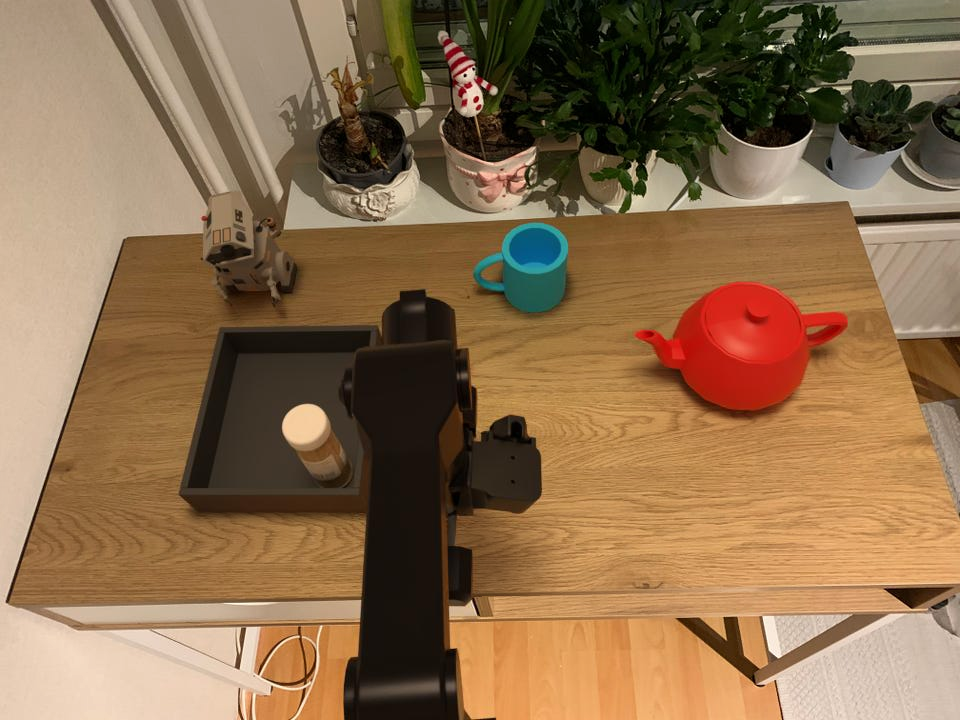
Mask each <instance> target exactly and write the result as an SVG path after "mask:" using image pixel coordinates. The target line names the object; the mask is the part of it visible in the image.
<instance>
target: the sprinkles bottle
mask: <svg viewBox="0 0 960 720" xmlns="http://www.w3.org/2000/svg"><path fill="white" fill-rule="evenodd" d="M282 431H283V435H284V436H285V438H286V440H287V441H288V443H289V444H290V445H291V446H292V447H293V448H294V449H295V450H296V452H297V454H298V456H299V457H300V459H301V460H302V462H303V463H304V465H305V466H306V468H307V469H308V471H309V472H310V474H311V475H312V476H313V477H314V479H315V481H316V483H317V485H318V486H319V487H320V488H344V487H345V486H346V485H347V484H348V483H349V482H350V481H351V479H352V476H353V466H352V464H351V462H350V460H349V459H348V458H347V457H346V454H345V452H344V450H343V448H342V446H341V444H340V443H339V441H338V439H337V437H336V436H335V434H334V433H333V431H332V429H331V425H330V421H329V419H328V417H327V416H326V414H325V412H324V411H323V410H322V409H321V408H320V407H318V406H316V405H313V404H303V405H299V406H297V407H295V408H293V409H292V410H290V411H289V412H288V413H287V415H286V416H285V418H284V420H283V423H282Z"/></svg>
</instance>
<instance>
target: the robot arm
mask: <svg viewBox="0 0 960 720" xmlns="http://www.w3.org/2000/svg"><path fill="white" fill-rule="evenodd" d="M381 337H382V345H379V346H368V347H363V348H358V349H357V350H356V351H355V354H354V358H353V362H352V363H350V364H349V365H347V366H346V368H345V372H344V376H343V378H342V380H341V382H340V384H339V387H338V396H339V401H340V403H341V404H342V405H343V406H344V407H345V408H346V410H347V414H348V417H349V419H350V420H351V421H355V425H356V428H357V431H358V435H359V438H360V441H361V445H362V448H363V451H364V455H365V457H366V458H367V460H368V461H369V479H368V496H367V512H365V513H366V514H365V529H364V530H365V531H364V547H363V548H364V549H363V563H362V564H363V565H362V581H361V596H360V597H361V598H360V599H361V600H360V614H359V615H360V616H359V630H358V632H359V633H358V647H357V656H351V657H350V658H349V659H348V660H347V662H346V666H345V671H344V679H343V696H342V698H343V699H342V705H343V706H342V709H343V720H497V717H496V716H495V717H485V718H471V716H470V715H469V714H468V712H467V711H466V709H465V703H464V702H465V701H464V690H463V689H464V688H463V680H462V668H461V660H460V652H459V650H458V648H457V647H456V648H455V647H454V648H451V628H450V627H451V623H450V607H466V606H467V605H468V604H469V603H471V602H472V600H473V596H474V595H473V594H474V551H473V549H472V548H469V547H464V546H461V545H457V536H458V535H457V532H458V530H457V529H458V517H474V516H475V510H490V511H498V512H506V513H511V514H516V515H521V514H523V513H525V512H526V511H527V510H529V509H530V508H531V507H532V506H533V505H534V504H535V503H536V502H537V501H539V500H540V498H541V497H542V493H543V479H542V478H543V477H542V455H541V451H540V450H539V448H537V437H534V436H530V435H529V434H528V424H527V420H526V418H525V417H524V416H522V415H516V414H508V415H505V416H503V417H500V418H498V419H496V420H494V421H493V422H492V424H491V425H490V426H489V428H488V430H482V431H481V432H480V440H475V439H476V437H477V427H478V401H479V399H478V391H477V387H475V386H474V385H472V375H471V373H472V372H471V361H470V350H469V349H470V348H469V347H463V348H459V347H458V335H457V319H456V311H455V309H454V308H453V307H452V306H451V305H450V304H448V303H447V302H445V301H444V300H441V299H438V298H434V297H431V296H428V295H427V290H426V288H419V289H409V290H400V291H399V299H398V300H396V301H394V302H392V303H390V304H389V305H387V307H386V308H385V309H384V310H383V312H382V315H381Z"/></svg>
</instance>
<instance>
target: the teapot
mask: <svg viewBox="0 0 960 720" xmlns="http://www.w3.org/2000/svg"><path fill="white" fill-rule="evenodd" d="M848 325H849V321H848V316H846V314H845V313H843V312H838V311H827V312H826V311H825V312H815V313H806V314H802V311H801V309H800V308H799V306H797V304H796V303H795V301H793V299H791V298H790V297H789V296H788V295H786V294H785V293H784V292H782V291H781V290H779V289H778V288H777V287H774V286H771V285H767V284H765V283H761V282H758V281H734V282H731V283H727V284H724V285H721V286H719V287H716V288H714V289H712V290H710V291H709V292H707V293H705V294H703V295H702V296H701V297H700V298H699V299H698V300H696V301H694V303H692V304H691V306H689V307H688V308H687V309H686V310H684V312H683V313H682V314H681V317H680V318H679V320H678V323H677V325H676V327H675V329H674V332H673V335H672V339H665V338H664V336H663V335H662V334H661V333H660V332H658V331H657V330H655V329H641V330H638V331H636V332H635V333H634V335H633V336H634V338H636V339H638V340H641V341H643V342H645V343H647V344H648V345H650V346H652V350H653V352H654V353H655V355H656V357H657V358H658V360H659V361H660V362H661V365H663V367H664V368H668V369H674V370H680V373H681V375H682V377H683V380H684V381H685V384H687V386H689V387H690V388H691V389H692V390H693V391H694V392H695V393H696V394H698V395H699V396H700V397H701V398H702V399H703V400H704V401H706V402H710V403H712V404H715V405H717V406H720V407H723V408H724V409H727V410H738V411H739V410H741V411H758V410H762V409H765V408H768V407H771V406H774V405H776V404H780V403H782V402H783V401H784V400H786V399H787V398H789V396H791V394H792V393H794V391H796V390H797V389H798V388H799V387H800V386H801V385H802V383H803V379H804V377H805V374H806V371H807V368H808V365H809V362H810V359H811V349H810V348H814V347H819V346H822V345H824V344H825V343H827V342H830V341H831V340H834V339H835V338H836V337H838V336H839V335H841V334H842V333H844V331H845V330H846V329H847V328H849V326H848ZM824 326H825V327H824ZM816 327H824V328H822V329H819V330H818V331H815V332H813V333H809V334H808V331H807V329H808V328H816Z"/></svg>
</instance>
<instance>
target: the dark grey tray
mask: <svg viewBox="0 0 960 720" xmlns="http://www.w3.org/2000/svg"><path fill="white" fill-rule="evenodd" d="M379 345H382V333H381V331H380V328H379V325H378V324H369V325H368V324H365V325H361V324H359V325H358V324H357V325H355V324H353V325H294V326H293V325H285V326H283V325H281V326H278V325H277V326H276V325H275V326H274V325H273V326H220V327H219V329H218V333H217V336H216V339H215V344H214V349H213V352H212V357H211V361H210V364H209V369H208V373H207V377H206V381H205V385H204V389H203V392H202V397H201V401H200V405H199V409H198V414H197V418H196V421H195V425H194V429H193V433H192V436H191V437H192V438H191V442H190V446H189V450H188V454H187V458H186V461H185V465H184V469H183V474H182V478H181V483H180V486H179V491H178V496H179V497H181V499H182V500H184V501H185V502H186V503H187V504H188V505H190V507H192V508H193V509H194V510H195V511H196V512H197V513H366V512H367V496H368V479H369V461H368V460H367V458H366V457H365V455H364V451H363V448H362V445H361V441H360V438H359V435H358V431H357V428H356V425H355V421H351V420H350V419H349V417H348V414H347V410H346V408H345V407H344V406H343V405H342V404H341V403H340V401H339V396H338V387H339V384H340V382H341V380H342V378H343V376H344V372H345V368H346V366H347V365H349V364H350V363H352V362H353V358H354V354H355V351H356V350H357V349H358V348H363V347H368V346H379ZM303 404H313V405H316V406H318V407H320V408H321V409H322V410H323V411H324V412H325V414H326V416H327V417H328V419H329V421H330V425H331V429H332V431H333V433H334V434H335V436H336V437H337V439H338V441H339V443H340V444H341V446H342V448H343V450H344V452H345V454H346V457H347V458H348V459H349V460H350V462H351V464H352V466H353V476H352V479H351V481H350V482H349V483H348V484H347V485H346V486H345V487H344V488H320V487H319V486H318V485H317V483H316V481H315V479H314V477H313V476H312V475H311V474H310V472H309V471H308V469H307V468H306V466H305V465H304V463H303V462H302V460H301V459H300V457H299V456H298V454H297V452H296V450H295V449H294V448H293V447H292V446H291V445H290V444H289V443H288V441H287V440H286V438H285V436H284V435H283V431H282V423H283V420H284V418H285V416H286V415H287V413H288V412H289V411H290V410H292V409H293V408H295V407H297V406H299V405H303Z"/></svg>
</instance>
